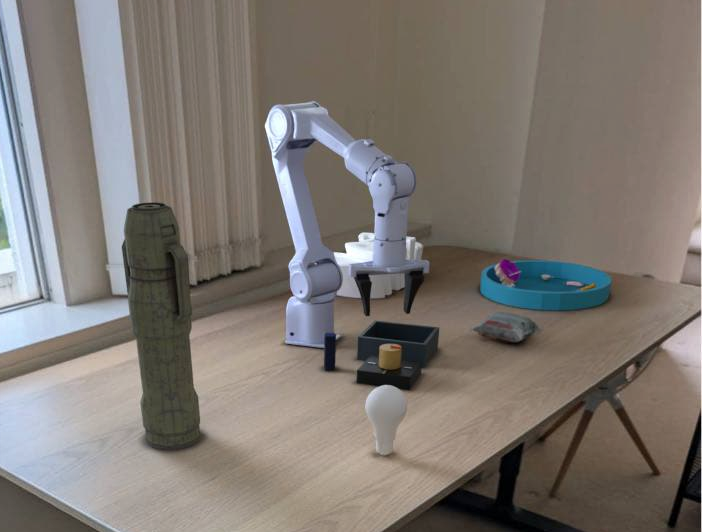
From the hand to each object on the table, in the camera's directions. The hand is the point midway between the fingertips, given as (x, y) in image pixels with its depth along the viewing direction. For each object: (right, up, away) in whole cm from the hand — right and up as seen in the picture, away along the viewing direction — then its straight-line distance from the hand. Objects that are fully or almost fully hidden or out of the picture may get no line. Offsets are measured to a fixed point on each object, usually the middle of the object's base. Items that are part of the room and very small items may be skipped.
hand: (386, 313), depth 150 cm
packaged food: (+26, -1, +16) cm, 31 cm away
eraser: (-11, -10, +3) cm, 15 cm away
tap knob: (0, -10, -3) cm, 11 cm away
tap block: (0, -12, -2) cm, 13 cm away
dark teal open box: (+3, -6, +9) cm, 11 cm away
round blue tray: (+43, +17, +45) cm, 64 cm away
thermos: (-36, -26, -22) cm, 50 cm away
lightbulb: (-4, -29, -28) cm, 40 cm away
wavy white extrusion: (+3, +21, +53) cm, 57 cm away
